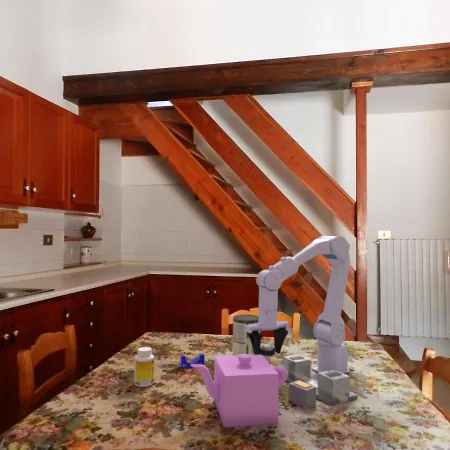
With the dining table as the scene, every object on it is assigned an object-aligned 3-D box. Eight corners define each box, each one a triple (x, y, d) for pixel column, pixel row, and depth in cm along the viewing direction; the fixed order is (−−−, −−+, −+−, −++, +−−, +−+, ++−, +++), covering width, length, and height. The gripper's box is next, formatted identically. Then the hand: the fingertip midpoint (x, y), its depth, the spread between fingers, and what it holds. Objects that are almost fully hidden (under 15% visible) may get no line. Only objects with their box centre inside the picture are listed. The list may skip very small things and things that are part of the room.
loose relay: (298, 396, 111) (298, 379, 111) (316, 404, 106) (316, 385, 106) (288, 400, 108) (288, 382, 108) (306, 408, 104) (306, 389, 104)
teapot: (187, 402, 106) (188, 348, 106) (278, 396, 110) (279, 345, 111) (192, 430, 91) (193, 367, 91) (298, 422, 95) (298, 363, 96)
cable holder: (201, 363, 137) (201, 351, 138) (204, 366, 134) (204, 354, 134) (178, 365, 135) (178, 353, 135) (180, 369, 132) (181, 356, 132)
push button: (278, 382, 120) (278, 349, 121) (260, 383, 120) (260, 349, 120) (273, 375, 127) (273, 343, 127) (256, 375, 127) (257, 343, 127)
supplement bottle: (155, 386, 116) (155, 350, 116) (135, 388, 114) (136, 352, 114) (151, 379, 121) (152, 345, 121) (132, 381, 119) (133, 347, 119)
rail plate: (301, 371, 131) (301, 351, 131) (357, 398, 110) (357, 375, 110) (275, 375, 126) (276, 355, 126) (329, 405, 105) (329, 381, 105)
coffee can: (241, 350, 153) (241, 313, 153) (265, 355, 147) (266, 316, 148) (226, 357, 144) (227, 317, 144) (252, 362, 139) (252, 321, 139)
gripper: (279, 305, 131) (278, 347, 131) (241, 308, 124) (240, 353, 124) (293, 309, 125) (292, 353, 124) (253, 313, 118) (252, 359, 117)
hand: (267, 354), depth 124 cm, fingers open, 7 cm apart
